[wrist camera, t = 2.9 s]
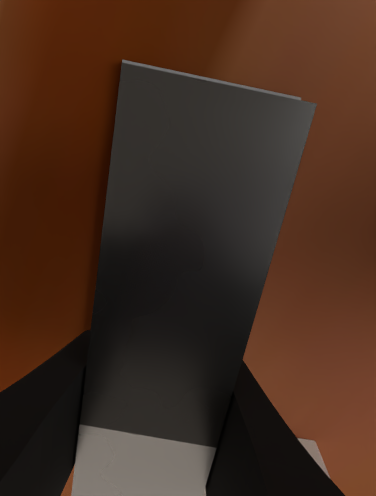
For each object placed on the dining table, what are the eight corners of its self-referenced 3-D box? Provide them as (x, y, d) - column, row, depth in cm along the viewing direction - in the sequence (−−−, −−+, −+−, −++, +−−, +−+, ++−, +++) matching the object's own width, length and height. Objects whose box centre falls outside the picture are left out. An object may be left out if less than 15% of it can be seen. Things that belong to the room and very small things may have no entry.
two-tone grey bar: (266, 122, 8) (317, 103, 5) (171, 499, 12) (162, 633, 9) (152, 98, 8) (122, 62, 5) (95, 486, 12) (57, 617, 9)
